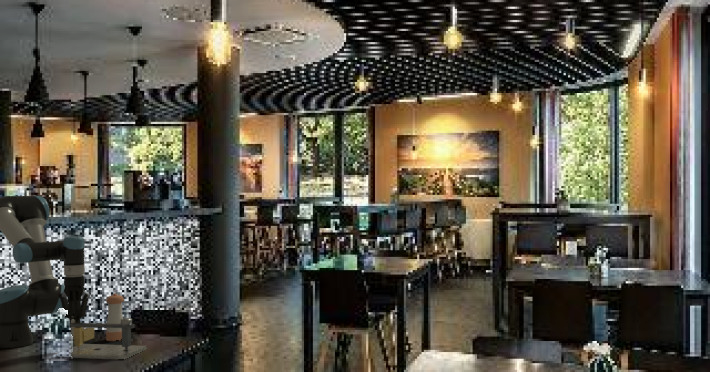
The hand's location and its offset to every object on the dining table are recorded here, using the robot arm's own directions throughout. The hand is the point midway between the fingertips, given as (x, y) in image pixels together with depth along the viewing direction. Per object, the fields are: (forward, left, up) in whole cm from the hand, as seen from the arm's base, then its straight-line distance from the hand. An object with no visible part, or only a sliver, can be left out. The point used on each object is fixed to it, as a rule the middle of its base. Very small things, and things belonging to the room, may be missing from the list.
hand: (74, 335), depth 265 cm
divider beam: (+16, -6, -3) cm, 17 cm away
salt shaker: (+7, +18, -5) cm, 20 cm away
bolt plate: (+16, -6, -5) cm, 17 cm away
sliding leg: (+6, -2, -3) cm, 7 cm away
